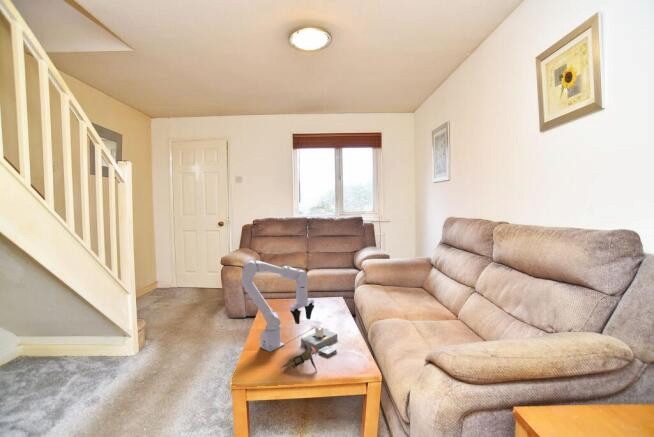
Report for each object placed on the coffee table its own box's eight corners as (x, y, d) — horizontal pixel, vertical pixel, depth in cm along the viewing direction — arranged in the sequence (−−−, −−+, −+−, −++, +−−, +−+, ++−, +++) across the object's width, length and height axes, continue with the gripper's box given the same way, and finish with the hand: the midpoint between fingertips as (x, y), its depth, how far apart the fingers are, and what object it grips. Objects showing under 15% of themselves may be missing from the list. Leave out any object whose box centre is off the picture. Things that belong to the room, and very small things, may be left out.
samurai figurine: (292, 386, 126) (334, 362, 129) (288, 388, 117) (333, 362, 120) (277, 350, 133) (317, 327, 136) (272, 349, 124) (315, 325, 127)
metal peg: (313, 342, 150) (313, 328, 150) (319, 340, 153) (319, 326, 153) (319, 344, 147) (319, 330, 147) (325, 342, 150) (324, 328, 150)
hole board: (315, 351, 141) (315, 344, 141) (300, 345, 148) (300, 338, 148) (337, 339, 153) (337, 333, 153) (322, 334, 160) (322, 328, 160)
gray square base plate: (328, 357, 135) (328, 354, 135) (318, 353, 139) (318, 350, 139) (336, 352, 139) (336, 349, 139) (326, 348, 143) (326, 345, 143)
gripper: (296, 299, 143) (297, 327, 143) (317, 292, 153) (318, 318, 154) (286, 296, 147) (287, 324, 148) (307, 290, 158) (308, 315, 158)
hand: (302, 321), depth 151 cm, fingers open, 7 cm apart
